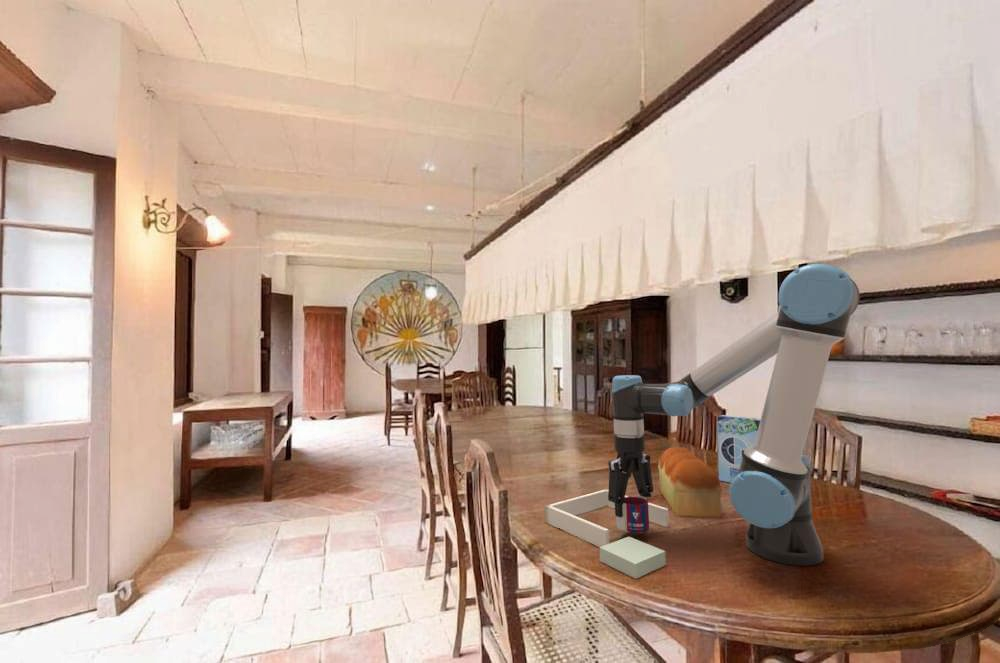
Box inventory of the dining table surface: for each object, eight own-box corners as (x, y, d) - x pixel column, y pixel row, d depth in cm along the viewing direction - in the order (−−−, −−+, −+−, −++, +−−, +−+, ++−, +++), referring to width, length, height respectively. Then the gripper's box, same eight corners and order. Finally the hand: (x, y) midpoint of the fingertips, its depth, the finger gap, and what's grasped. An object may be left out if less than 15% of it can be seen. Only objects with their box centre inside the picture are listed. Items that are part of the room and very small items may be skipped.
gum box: (718, 481, 161) (716, 416, 162) (725, 478, 165) (722, 414, 166) (779, 493, 146) (776, 422, 147) (785, 490, 150) (782, 420, 151)
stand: (665, 565, 100) (665, 551, 100) (635, 578, 94) (635, 564, 94) (629, 549, 108) (628, 536, 108) (599, 561, 102) (599, 547, 102)
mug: (622, 532, 113) (621, 504, 113) (620, 518, 123) (619, 492, 123) (650, 533, 111) (649, 505, 112) (646, 519, 121) (644, 493, 122)
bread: (723, 518, 127) (720, 464, 127) (676, 517, 128) (674, 464, 129) (697, 490, 151) (695, 446, 152) (658, 489, 153) (657, 445, 154)
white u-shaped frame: (668, 525, 121) (668, 508, 122) (605, 550, 108) (605, 530, 108) (606, 504, 140) (606, 489, 140) (545, 522, 126) (545, 505, 126)
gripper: (642, 429, 126) (645, 512, 125) (590, 438, 115) (593, 530, 114) (665, 432, 120) (669, 520, 119) (613, 442, 109) (617, 540, 108)
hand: (632, 525), depth 116 cm, fingers closed on mug, 7 cm apart
